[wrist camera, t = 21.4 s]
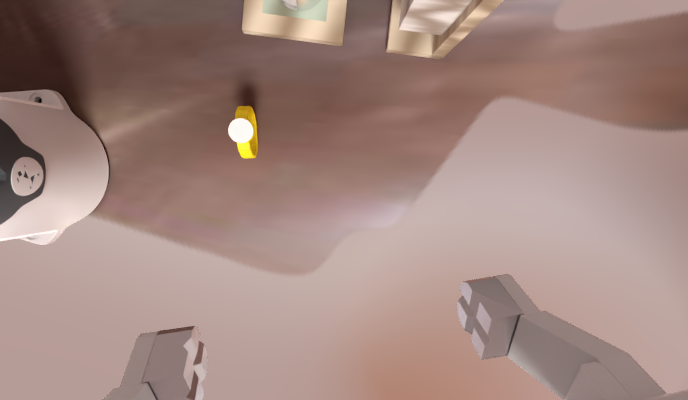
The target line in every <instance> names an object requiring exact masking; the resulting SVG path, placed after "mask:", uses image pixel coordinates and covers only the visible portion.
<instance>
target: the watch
mask: <svg viewBox="0 0 688 400" xmlns="http://www.w3.org/2000/svg"><path fill="white" fill-rule="evenodd" d="M228 132H229V136H230V137H231V139H232V140H233V141H235V142H237V147H238V151H239V153H240V155H241V157H242V158H255V157H256V155H257V151H258V139H257V122H256V117H255V113H254V111H253V108H252V107H251V106H238V108H237V110H236V113H235V119H234V120H233V121H232V122H231V123H230V125H229V129H228Z"/></svg>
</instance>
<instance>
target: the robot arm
mask: <svg viewBox="0 0 688 400" xmlns="http://www.w3.org/2000/svg"><path fill="white" fill-rule="evenodd" d="M40 98H41V99H42V102H41V103H39V99H40ZM108 177H109V166H108V160H107V156H106V153H105V150H104V147H103V145H102V143H101V141H100V140H99V138H98V137H97V135H96V134H95V133H94V132H93V130H92V129H91V128H90V127H89V126H88V125H86V124H85V123H84V122H83V121H82V120H80V119H79V118H78V117H77V116H75V115H74V114H73V113H72V112H71V110H70V108H69V106H68V104H67V103H66V101H65V99H64V98H63V97H62V95H61V94H60V93H59V92H57V91H54V90H46V89H45V90H31V91H17V92H4V93H0V241H4V240H10V239H16V238H18V239H22V240H25V241H28V242H32V243H36V244H39V245H45V244H51V243H53V242H55V241H56V240H57V238H58V237H60V235H61V234H62V233H63V231H64V230H65V229H66V228H67V227H68V226H70V225H71V224H73V223H75V222H77V221H79V220H81V219H83V218H84V217H86V216H87V215H88V214H90V213H91V212H92V211H93V210H94V209H95V208H96V207H97V205H98V204H99V203H100V201H101V199H102V197H103V196H104V193H105V191H106V188H107V184H108ZM460 291H461V293H462V295H463V296H462V297H461V298H460V299H459V300H458V306H457V311H458V317H459V320H460V322H461V324H462V326H463V328H464V330H465V331H467V332H469V333H470V334H472V339H471V342H472V344H473V346H474V348H475V350H476V351H477V353H478V355H479V356H480V358H481V360H484V359H489V358H496V357H502V356H507V357H508V358H509V359H511V360H512V361H513V362H515V363H516V364H517V365H519V366H520V367H521V368H522V369H524V370H525V371H526V372H528V373H529V374H530V375H532V376H533V377H534V378H536V379H537V380H538V381H539V382H541V383H542V384H543V385H545V386H546V387H547V388H549V389H550V390H551V391H553V392H554V393H555V394H556V395H558V396H559V397H561V398H562V399H563V400H688V389H686V390H682V391H677V392H673V393H668V394H667V393H666V392H665V391H664V390H663V389H662V388H661V387H660V386H659V385H658V384H657V383H656V382H655V381H654V380H653V379H652V378H651V377H650V375H648V373H647V372H646V371H645V370H644V369H643V368H642V367H641V366H640V365H639V364H638V363H637V362H636V361H635V360H634V359H633V358H632V357H631V356H630V355H629V354H628V353H626V352H625V351H623V350H621V349H618V348H617V347H615V346H613V345H611V344H609V343H607V342H605V341H603V340H601V339H599V338H597V337H595V336H593V335H591V334H589V333H588V332H586V331H583V330H582V329H580V328H578V327H576V326H574V325H572V324H570V323H568V322H566V321H564V320H562V319H560V318H558V317H556V316H554V315H552V314H551V313H548V312H547V311H540V310H539V309H538V307H537V306H536V305H535V304H534V303H533V301H532V300H531V299H530V298H529V297H528V295H527V294H526V293H525V292H524V291H523V289H522V288H521V287H520V286H519V284H518V283H517V282H516V281H515V280H514V279H513V277H512V276H511V275H509V274H504V275H498V276H493V277H486V278H480V279H474V280H469V281H463V283H462V284H461V287H460ZM199 339H200V332H199V329H198V327H197V326H191V327H184V328H177V329H170V330H163V331H157V332H150V333H143V334H140V336H139V337H138V338H137V339H136V342H135V345H134V348H133V351H132V354H131V356H130V360H129V362H128V365H127V368H126V371H125V373H124V376H123V379H122V382H121V385H120V387H119V388H115V389H113V390H112V391H111V392H110V393H109V394H108V395H107V396H106V397H105V398H104V399H103V400H203V396H204V390H203V388H202V385H201V382H203V380H204V379H205V378H206V375H207V353H206V348H205V345H204V344H203V343H202V342H200V341H199Z"/></svg>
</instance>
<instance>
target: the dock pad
mask: <svg viewBox="0 0 688 400" xmlns="http://www.w3.org/2000/svg"><path fill="white" fill-rule="evenodd" d="M346 5H347V0H321V1H320V2H319V3H318V5H316V6H315V7H313V8H312V9H309V10H306V11H294V10H290V9H288V8H286V7H284V6H283V5H282V4H281V3H280V2H279V1H278V0H244V11H243V23H242V31H243V32H244V33H245V34H253V35H260V36H268V37H276V38H283V39H291V40H299V41H306V42H314V43H321V44H329V45H337V46H342V42H343V33H344V23H345V14H346Z"/></svg>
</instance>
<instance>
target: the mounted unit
mask: <svg viewBox="0 0 688 400" xmlns="http://www.w3.org/2000/svg"><path fill="white" fill-rule="evenodd" d="M502 1H503V0H392V5H391V14H390V22H389V30H388V39H387V47H386V52H390V53H398V54H405V55H413V56H421V57H428V58H436V59H442V58H443V57H444V56H445V55H446V54H447V53H448V52H449V51H450V50H451V49H452V48H453V47H455V46H456V45H457V44H458V43H459V42H460V41H461V40H462V39H463V38H464V37H465V36H466V35H467V34H468V33H469V32H470V31H472V30H473V29H474V28H475V27H476V26H477V25H478V24H479V23H480V22H481V21H482V20H483V19H484V18H485V17H486V16H488V15H489V14H490V13H491V12H492V11H493V10H494V9H495V8H496V7H497V6H498V5H499V4H500V3H501V2H502Z"/></svg>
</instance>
